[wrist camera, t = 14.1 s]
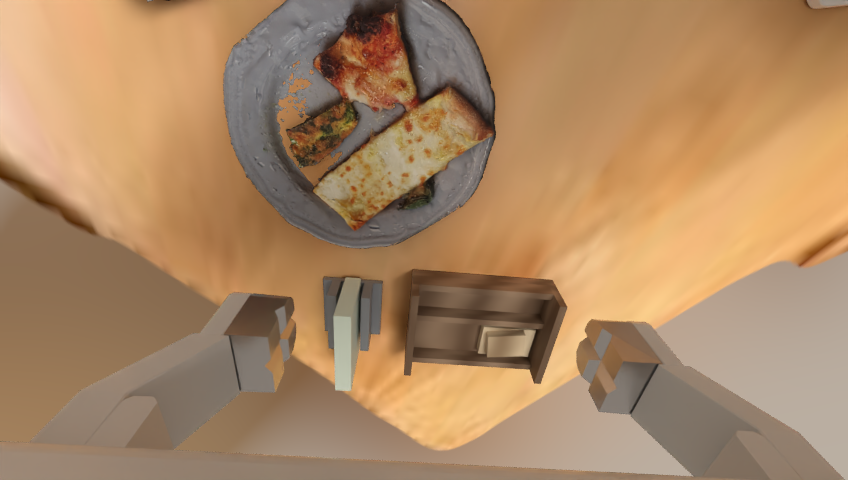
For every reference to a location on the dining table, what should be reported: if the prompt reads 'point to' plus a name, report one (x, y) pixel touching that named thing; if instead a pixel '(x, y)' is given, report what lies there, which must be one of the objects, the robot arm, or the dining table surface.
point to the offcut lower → (484, 328)
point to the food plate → (363, 115)
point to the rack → (479, 318)
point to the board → (347, 333)
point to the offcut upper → (505, 343)
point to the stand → (368, 311)
